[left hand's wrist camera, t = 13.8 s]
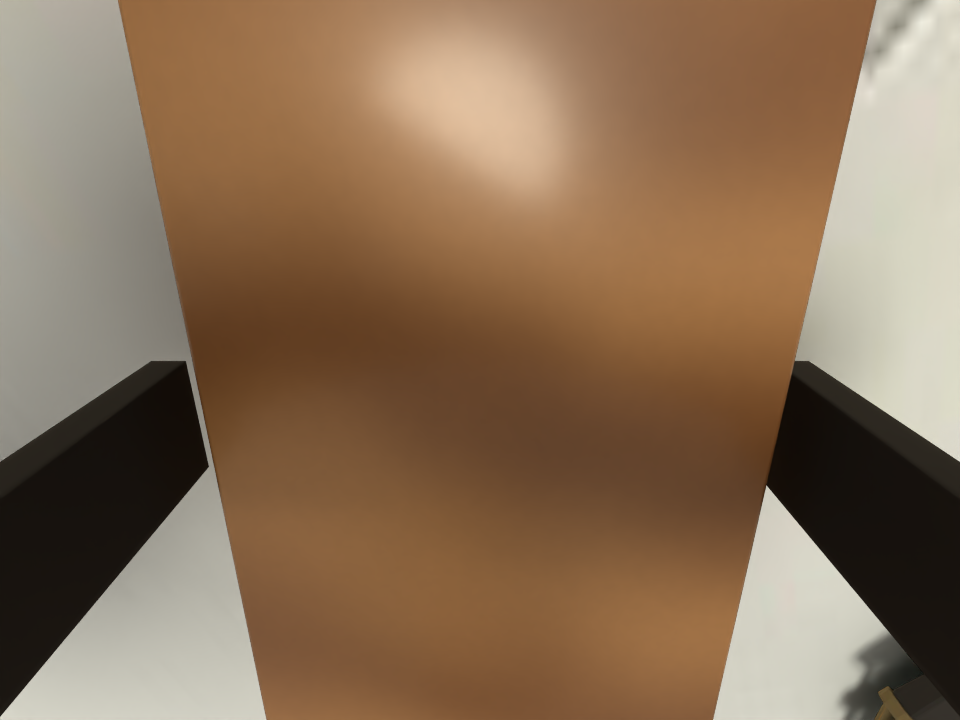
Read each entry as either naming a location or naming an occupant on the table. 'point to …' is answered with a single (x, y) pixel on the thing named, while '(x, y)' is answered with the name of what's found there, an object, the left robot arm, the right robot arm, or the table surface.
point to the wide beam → (493, 328)
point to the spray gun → (915, 702)
